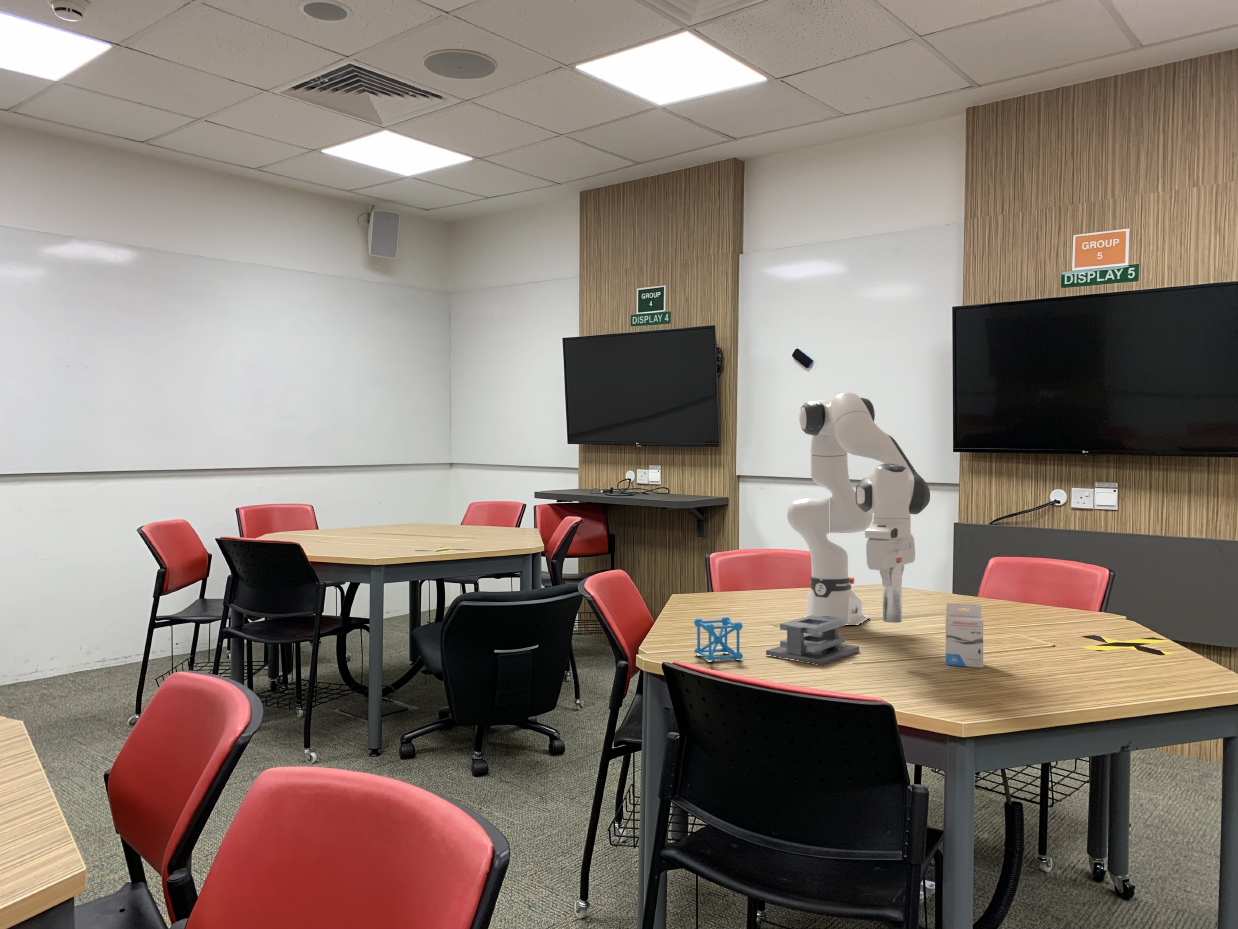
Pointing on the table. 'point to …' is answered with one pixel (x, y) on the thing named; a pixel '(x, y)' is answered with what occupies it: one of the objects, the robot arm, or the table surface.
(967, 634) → the ink box
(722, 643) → the molecular structure
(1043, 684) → the table surface
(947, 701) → the table surface
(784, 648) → the collar stand
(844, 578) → the robot arm
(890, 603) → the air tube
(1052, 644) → the table surface
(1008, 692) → the table surface
